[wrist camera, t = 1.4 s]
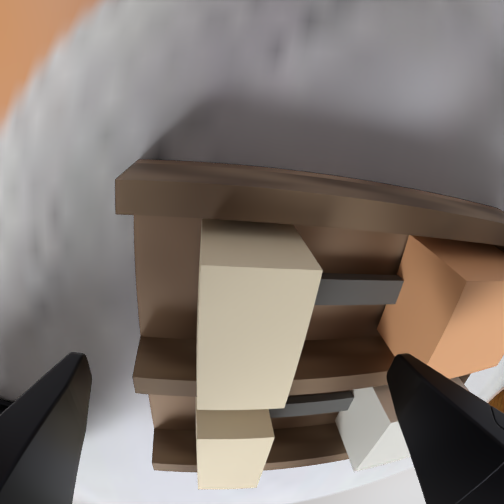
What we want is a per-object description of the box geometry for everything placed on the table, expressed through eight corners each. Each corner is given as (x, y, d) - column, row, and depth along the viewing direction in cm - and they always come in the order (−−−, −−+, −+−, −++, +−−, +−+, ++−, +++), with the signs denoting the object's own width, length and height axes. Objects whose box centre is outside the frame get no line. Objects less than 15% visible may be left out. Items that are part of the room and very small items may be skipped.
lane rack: (156, 426, 18) (153, 470, 15) (138, 159, 11) (115, 179, 8) (405, 408, 21) (422, 440, 18) (497, 208, 14) (537, 231, 11)
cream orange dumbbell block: (196, 335, 13) (196, 409, 10) (202, 210, 11) (200, 264, 8) (456, 325, 16) (494, 369, 12) (492, 239, 14) (543, 275, 10)
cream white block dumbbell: (195, 430, 17) (198, 489, 13) (195, 367, 14) (197, 439, 11) (408, 408, 19) (432, 450, 15) (443, 351, 17) (476, 395, 13)
